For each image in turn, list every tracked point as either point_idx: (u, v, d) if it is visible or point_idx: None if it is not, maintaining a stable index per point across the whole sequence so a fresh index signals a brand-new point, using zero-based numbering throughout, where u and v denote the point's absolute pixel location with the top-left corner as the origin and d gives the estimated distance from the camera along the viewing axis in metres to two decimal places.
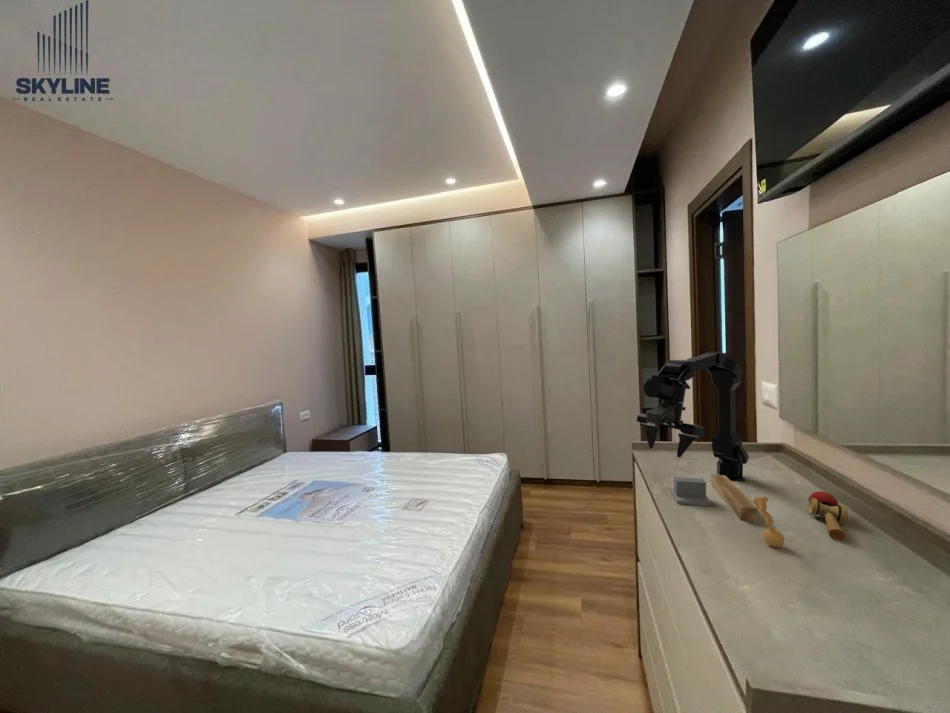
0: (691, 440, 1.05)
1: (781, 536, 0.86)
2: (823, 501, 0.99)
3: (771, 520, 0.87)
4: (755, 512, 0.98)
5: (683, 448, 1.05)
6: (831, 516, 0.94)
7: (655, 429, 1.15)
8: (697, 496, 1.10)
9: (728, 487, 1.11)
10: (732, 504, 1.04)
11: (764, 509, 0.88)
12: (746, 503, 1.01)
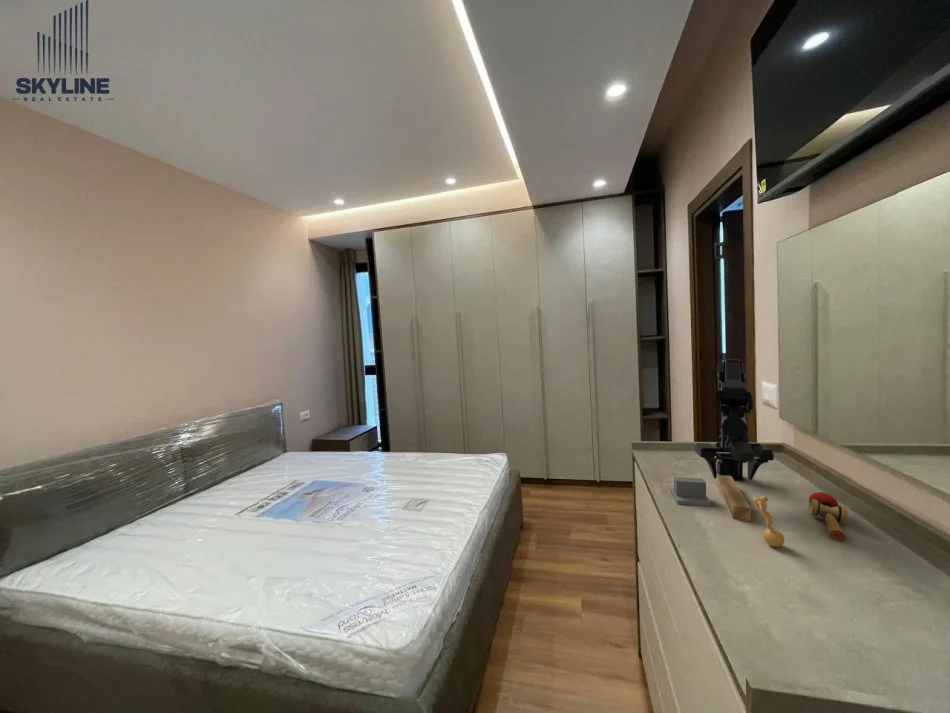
0: None
1: (781, 536, 0.86)
2: (823, 502, 0.99)
3: (771, 520, 0.87)
4: (748, 512, 0.99)
5: None
6: (831, 517, 0.93)
7: None
8: (697, 496, 1.10)
9: (729, 487, 1.11)
10: (728, 503, 1.05)
11: (764, 509, 0.88)
12: (741, 502, 1.02)
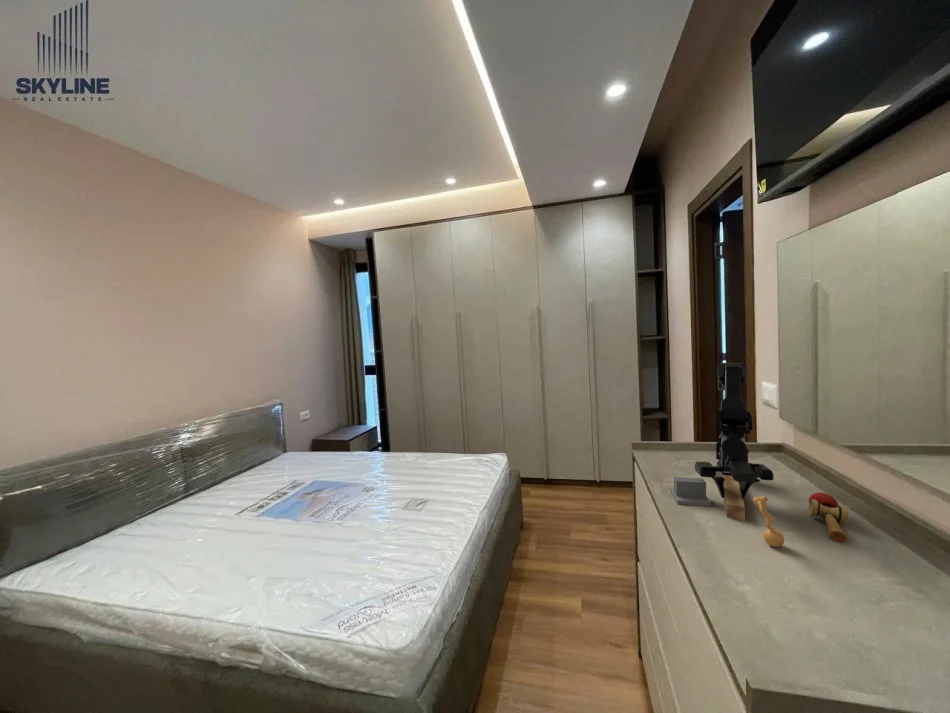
0: None
1: (781, 536, 0.86)
2: (823, 502, 0.98)
3: (771, 520, 0.87)
4: (742, 510, 0.99)
5: None
6: (831, 518, 0.93)
7: None
8: (697, 496, 1.10)
9: (730, 487, 1.11)
10: (725, 502, 1.05)
11: (764, 509, 0.88)
12: (736, 501, 1.02)
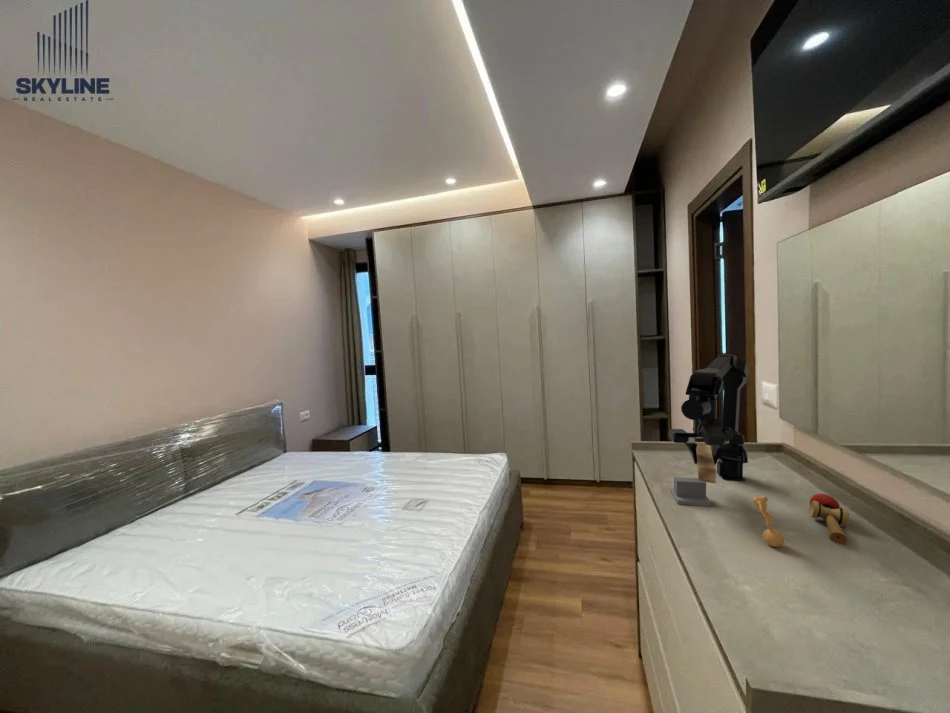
0: None
1: (781, 536, 0.86)
2: (824, 504, 0.98)
3: (771, 520, 0.87)
4: (713, 473, 1.00)
5: None
6: (832, 519, 0.92)
7: None
8: (697, 496, 1.10)
9: (703, 453, 1.11)
10: None
11: (764, 509, 0.88)
12: (708, 464, 1.02)
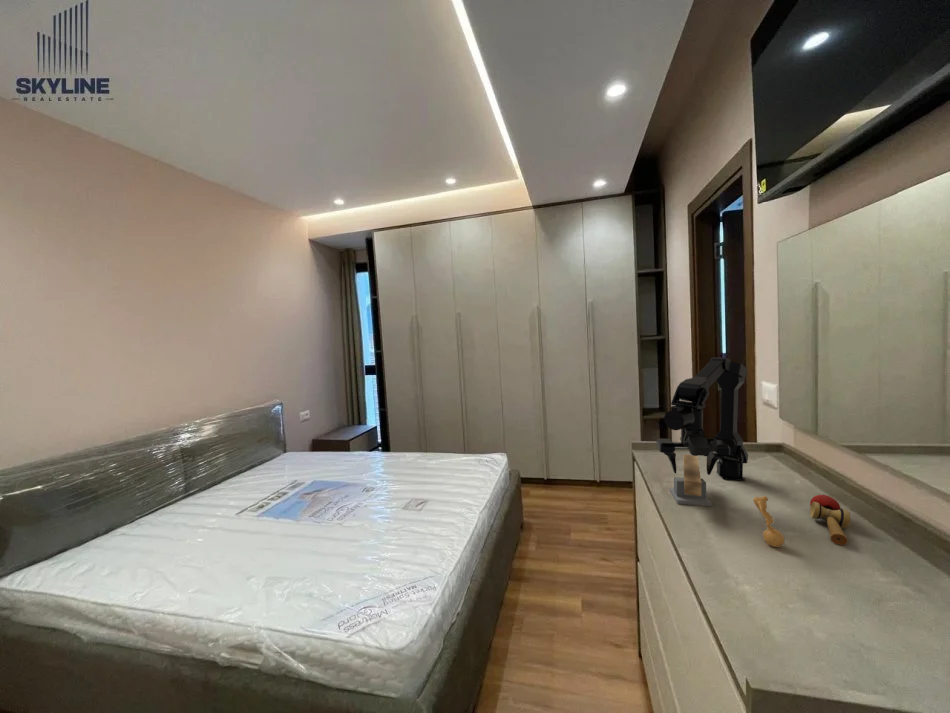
0: None
1: (781, 536, 0.86)
2: (825, 505, 0.97)
3: (771, 520, 0.87)
4: (699, 486, 1.01)
5: None
6: (833, 520, 0.92)
7: None
8: (697, 496, 1.10)
9: (690, 465, 1.13)
10: None
11: (764, 509, 0.88)
12: (694, 477, 1.04)
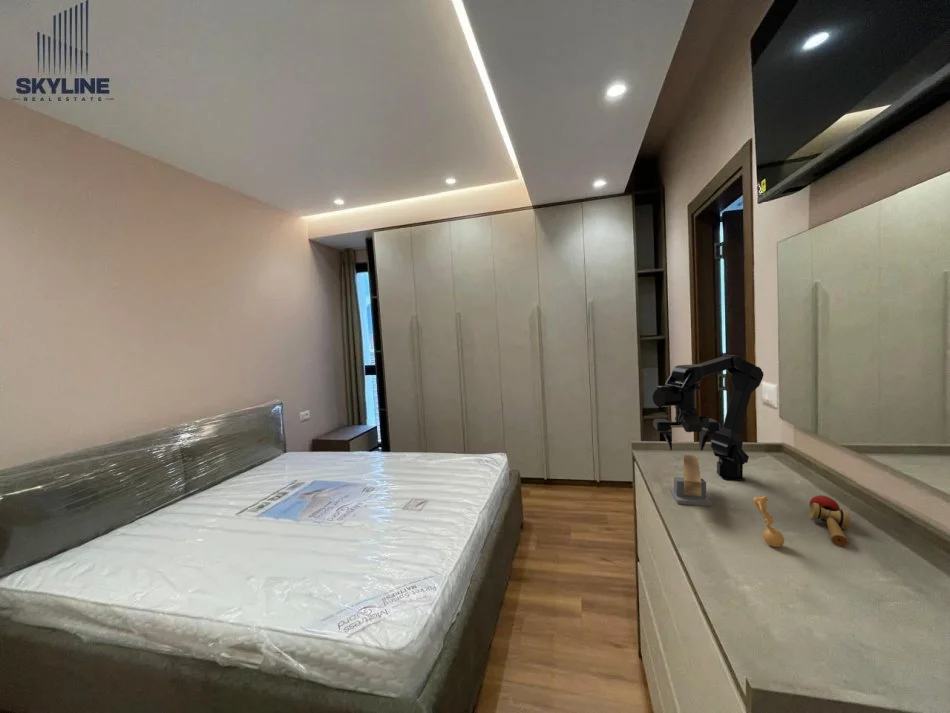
0: None
1: (781, 536, 0.86)
2: (824, 505, 0.97)
3: (771, 520, 0.87)
4: (699, 486, 1.01)
5: None
6: (833, 521, 0.91)
7: None
8: (697, 496, 1.10)
9: (690, 465, 1.13)
10: None
11: (764, 509, 0.88)
12: (694, 477, 1.04)
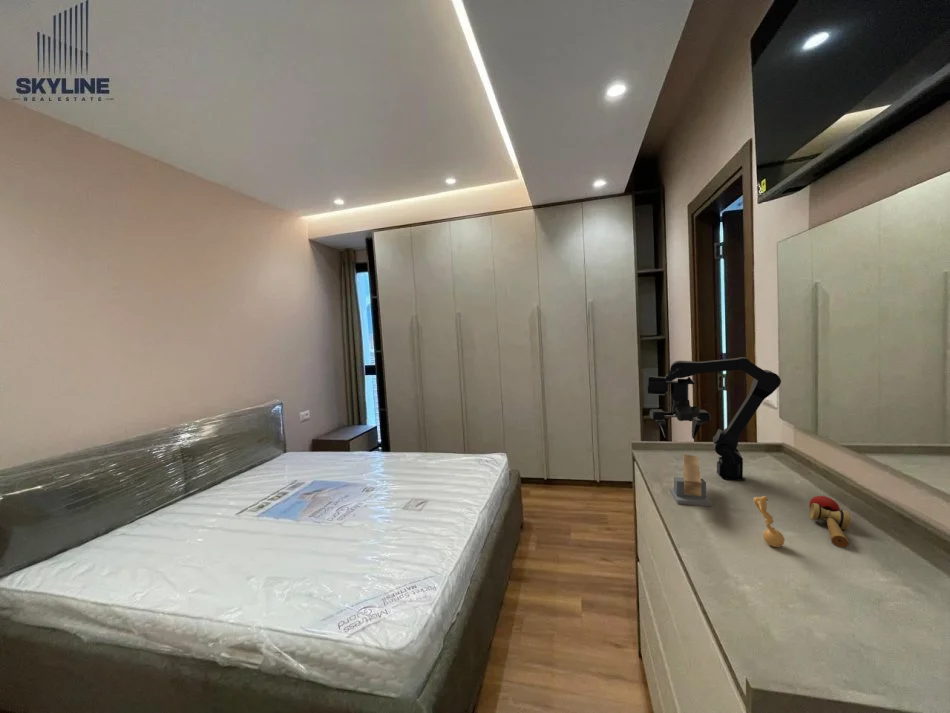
0: None
1: (781, 536, 0.86)
2: (824, 506, 0.97)
3: (771, 520, 0.87)
4: (699, 486, 1.01)
5: None
6: (833, 522, 0.91)
7: None
8: (697, 496, 1.10)
9: (690, 465, 1.13)
10: None
11: (764, 509, 0.88)
12: (694, 477, 1.04)
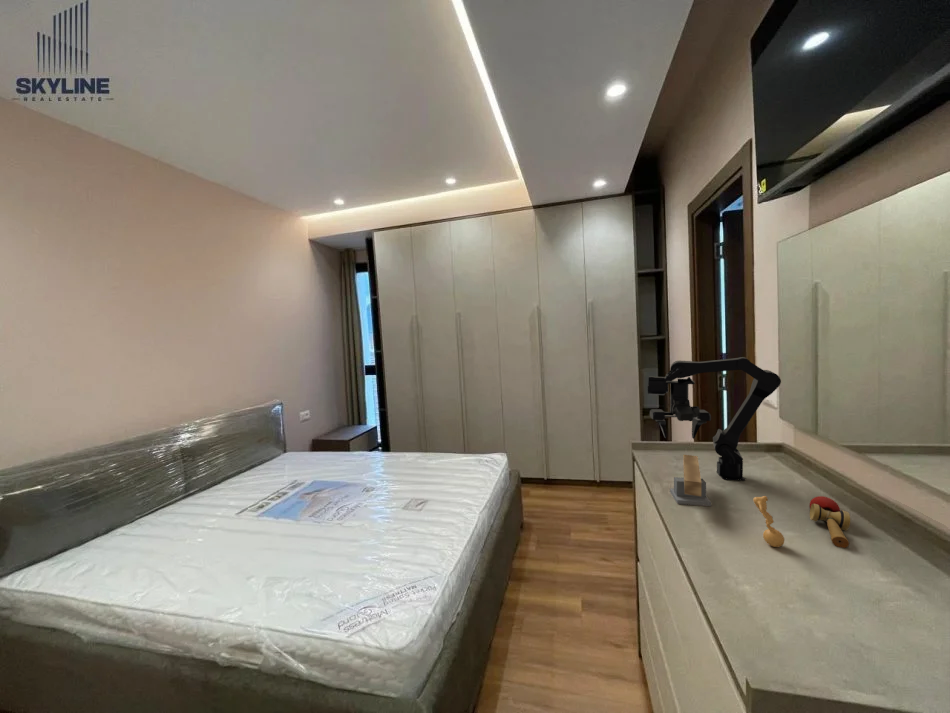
0: None
1: (781, 536, 0.86)
2: (824, 506, 0.96)
3: (771, 520, 0.87)
4: (699, 486, 1.01)
5: None
6: (834, 522, 0.91)
7: None
8: (697, 496, 1.10)
9: (690, 465, 1.13)
10: None
11: (764, 509, 0.88)
12: (694, 477, 1.04)
